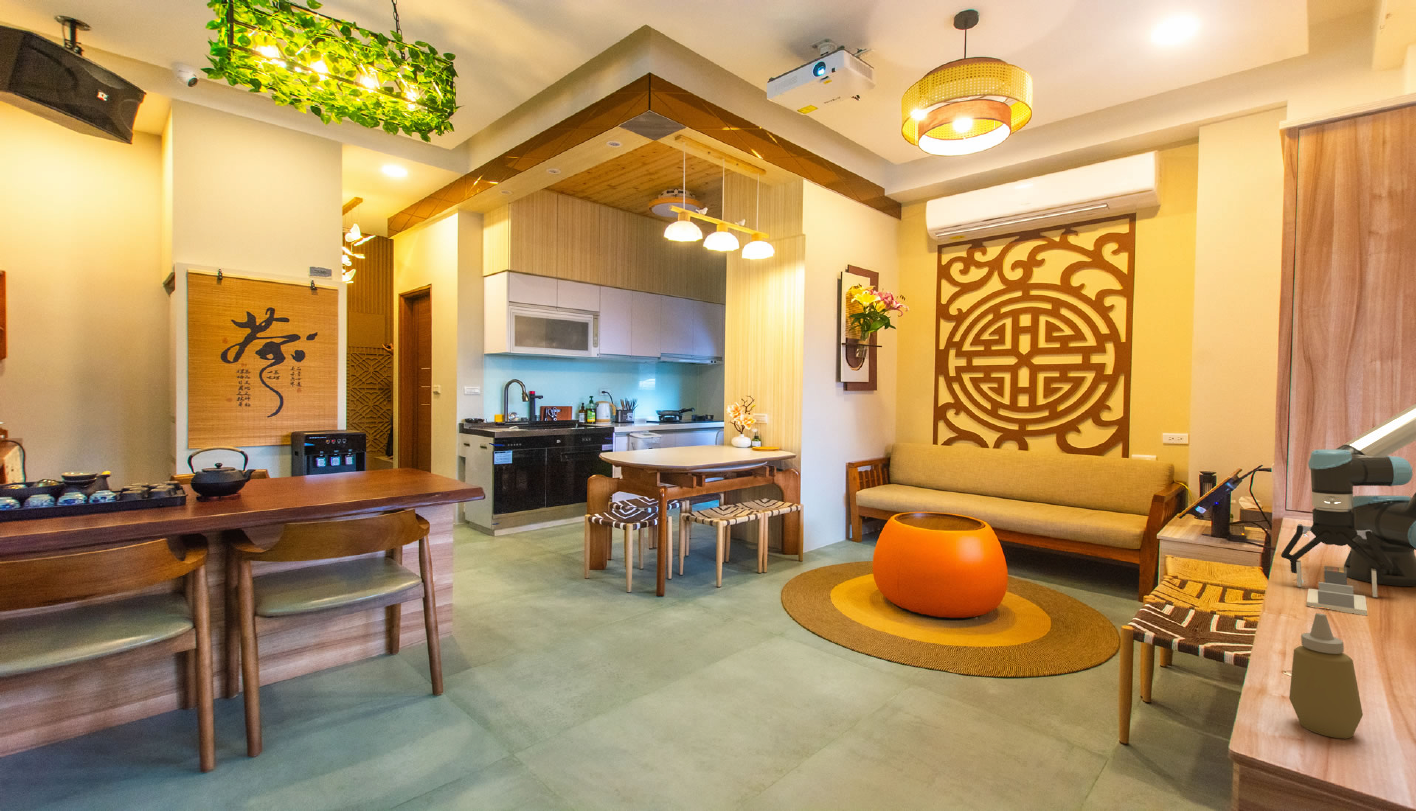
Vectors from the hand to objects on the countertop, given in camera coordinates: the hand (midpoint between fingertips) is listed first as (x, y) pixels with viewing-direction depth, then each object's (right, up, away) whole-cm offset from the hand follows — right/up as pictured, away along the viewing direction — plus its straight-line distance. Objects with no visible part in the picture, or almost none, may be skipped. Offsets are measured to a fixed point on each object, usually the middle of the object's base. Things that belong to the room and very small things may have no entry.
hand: (1336, 590), depth 158 cm
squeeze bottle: (-67, -3, -63) cm, 92 cm away
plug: (0, -1, 0) cm, 0 cm away
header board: (-9, -1, -8) cm, 12 cm away
